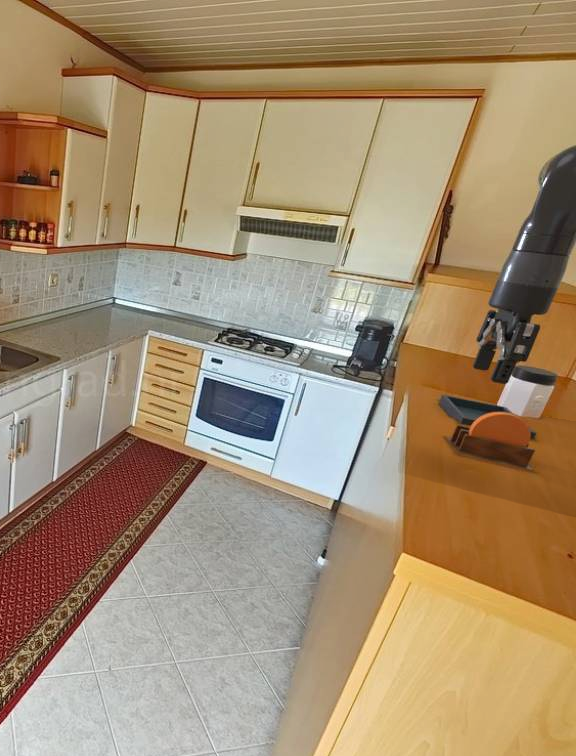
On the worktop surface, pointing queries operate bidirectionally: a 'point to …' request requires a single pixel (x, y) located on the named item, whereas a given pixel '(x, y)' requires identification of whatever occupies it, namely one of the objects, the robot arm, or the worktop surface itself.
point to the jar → (527, 391)
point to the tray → (470, 410)
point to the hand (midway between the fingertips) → (488, 375)
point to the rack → (490, 449)
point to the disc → (501, 428)
